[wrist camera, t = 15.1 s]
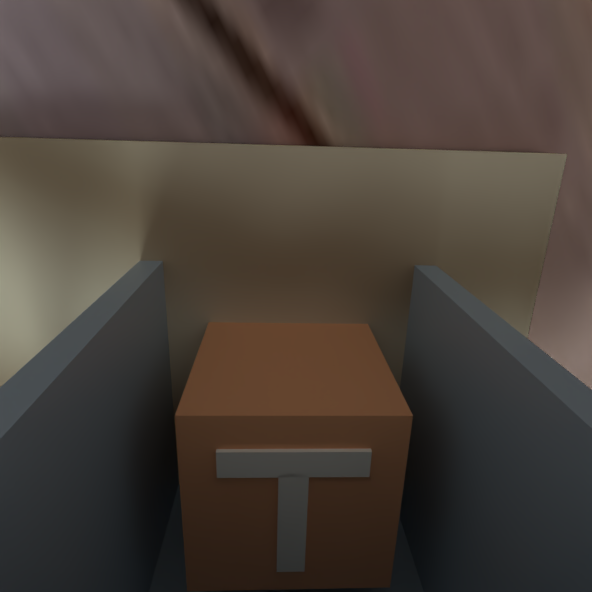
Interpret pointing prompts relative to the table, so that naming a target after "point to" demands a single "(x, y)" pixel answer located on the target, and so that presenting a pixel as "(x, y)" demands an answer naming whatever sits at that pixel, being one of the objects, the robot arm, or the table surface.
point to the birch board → (263, 234)
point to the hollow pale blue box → (418, 477)
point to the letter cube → (290, 458)
